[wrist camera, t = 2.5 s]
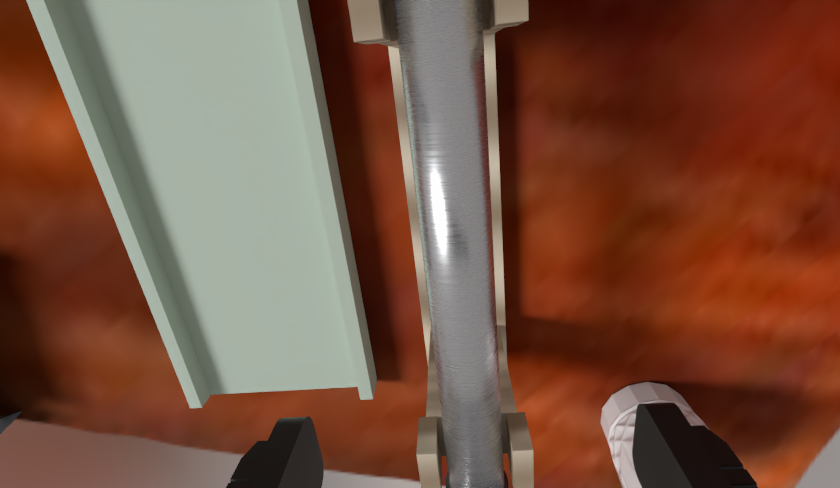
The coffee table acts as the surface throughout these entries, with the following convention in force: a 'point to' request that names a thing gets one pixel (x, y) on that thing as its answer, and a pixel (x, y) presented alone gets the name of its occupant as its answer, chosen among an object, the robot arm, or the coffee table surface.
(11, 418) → the grey mechanical device
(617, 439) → the white cup
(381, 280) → the coffee table surface
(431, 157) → the steel rod
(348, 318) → the mat tray
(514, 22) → the rack
